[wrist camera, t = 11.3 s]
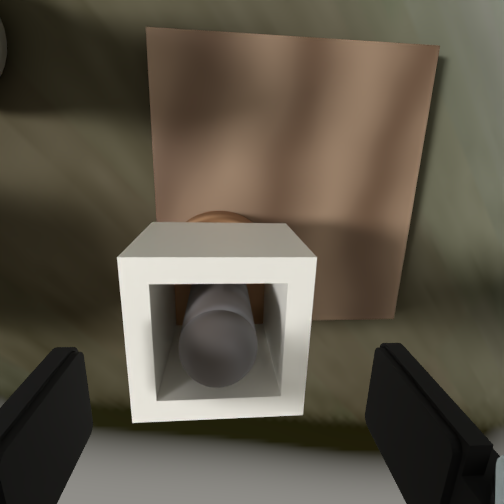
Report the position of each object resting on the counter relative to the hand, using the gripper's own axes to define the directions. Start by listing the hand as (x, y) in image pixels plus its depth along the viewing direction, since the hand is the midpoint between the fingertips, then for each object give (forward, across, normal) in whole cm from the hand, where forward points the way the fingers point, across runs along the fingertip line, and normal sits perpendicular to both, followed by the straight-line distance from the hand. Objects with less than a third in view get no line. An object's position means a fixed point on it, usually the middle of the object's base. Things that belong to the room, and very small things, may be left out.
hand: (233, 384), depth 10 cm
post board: (+14, -4, -4) cm, 15 cm away
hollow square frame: (+8, +1, 0) cm, 8 cm away
